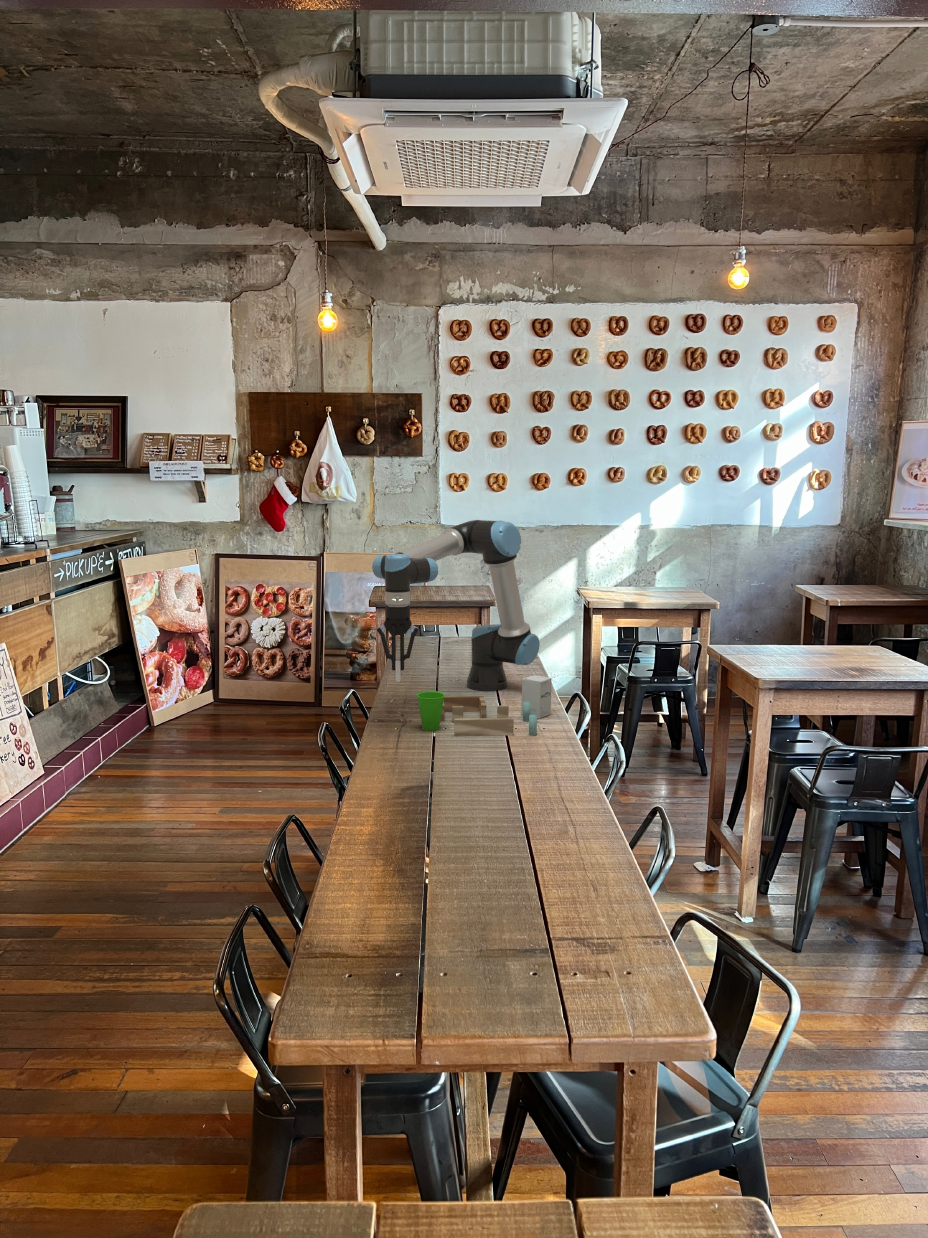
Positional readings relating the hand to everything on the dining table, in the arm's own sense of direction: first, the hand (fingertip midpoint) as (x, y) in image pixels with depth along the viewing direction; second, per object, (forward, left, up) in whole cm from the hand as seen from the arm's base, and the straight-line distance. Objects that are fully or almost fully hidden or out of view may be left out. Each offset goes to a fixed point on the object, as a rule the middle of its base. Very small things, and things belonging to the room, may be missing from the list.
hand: (398, 680), depth 269 cm
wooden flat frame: (-6, +24, -16) cm, 29 cm away
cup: (0, +10, -16) cm, 19 cm away
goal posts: (0, +41, -16) cm, 44 cm away
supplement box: (-14, +45, -16) cm, 50 cm away
